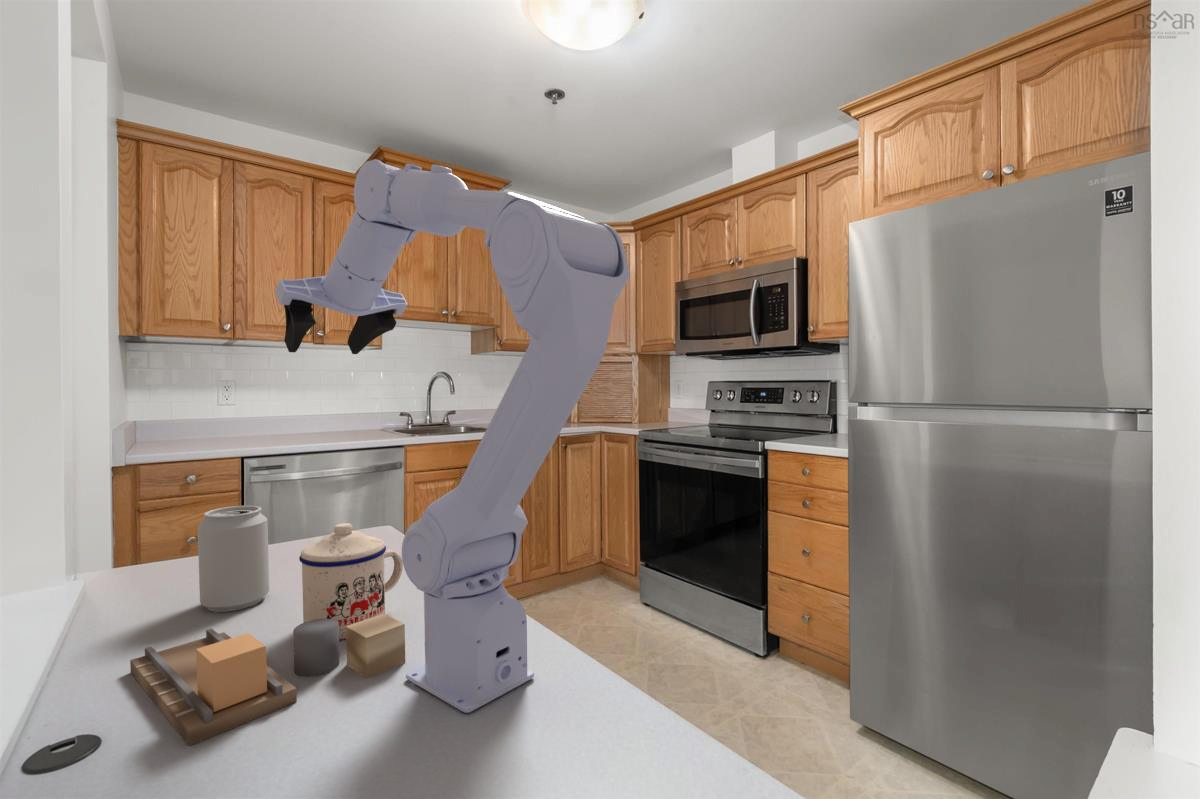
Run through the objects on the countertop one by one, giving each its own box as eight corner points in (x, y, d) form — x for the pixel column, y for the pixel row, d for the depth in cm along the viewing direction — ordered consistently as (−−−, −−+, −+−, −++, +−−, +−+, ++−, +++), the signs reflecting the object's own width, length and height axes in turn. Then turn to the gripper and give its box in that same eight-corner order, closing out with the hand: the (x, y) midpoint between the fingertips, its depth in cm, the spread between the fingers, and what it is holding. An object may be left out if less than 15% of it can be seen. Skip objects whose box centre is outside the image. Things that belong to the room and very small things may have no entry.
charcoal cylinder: (346, 665, 57) (345, 625, 57) (305, 681, 54) (304, 639, 54) (327, 653, 60) (327, 615, 60) (287, 668, 57) (286, 628, 57)
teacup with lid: (327, 650, 61) (324, 540, 60) (286, 628, 66) (283, 527, 66) (424, 613, 70) (422, 517, 70) (381, 596, 76) (379, 507, 75)
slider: (267, 691, 50) (265, 645, 50) (213, 712, 47) (212, 663, 47) (249, 676, 53) (248, 633, 52) (197, 695, 50) (196, 648, 49)
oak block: (405, 663, 58) (404, 623, 58) (367, 679, 55) (366, 637, 55) (384, 651, 61) (383, 613, 60) (346, 666, 57) (345, 626, 57)
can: (282, 592, 77) (279, 503, 77) (242, 615, 70) (239, 516, 70) (229, 591, 78) (227, 502, 78) (184, 613, 71) (181, 515, 70)
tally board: (296, 701, 51) (296, 679, 51) (188, 746, 45) (187, 720, 45) (224, 643, 62) (223, 624, 62) (129, 672, 56) (129, 651, 56)
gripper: (407, 250, 72) (366, 327, 79) (283, 227, 61) (248, 319, 68) (429, 289, 69) (385, 366, 76) (304, 273, 58) (265, 364, 65)
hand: (322, 347), depth 72 cm, fingers open, 7 cm apart
